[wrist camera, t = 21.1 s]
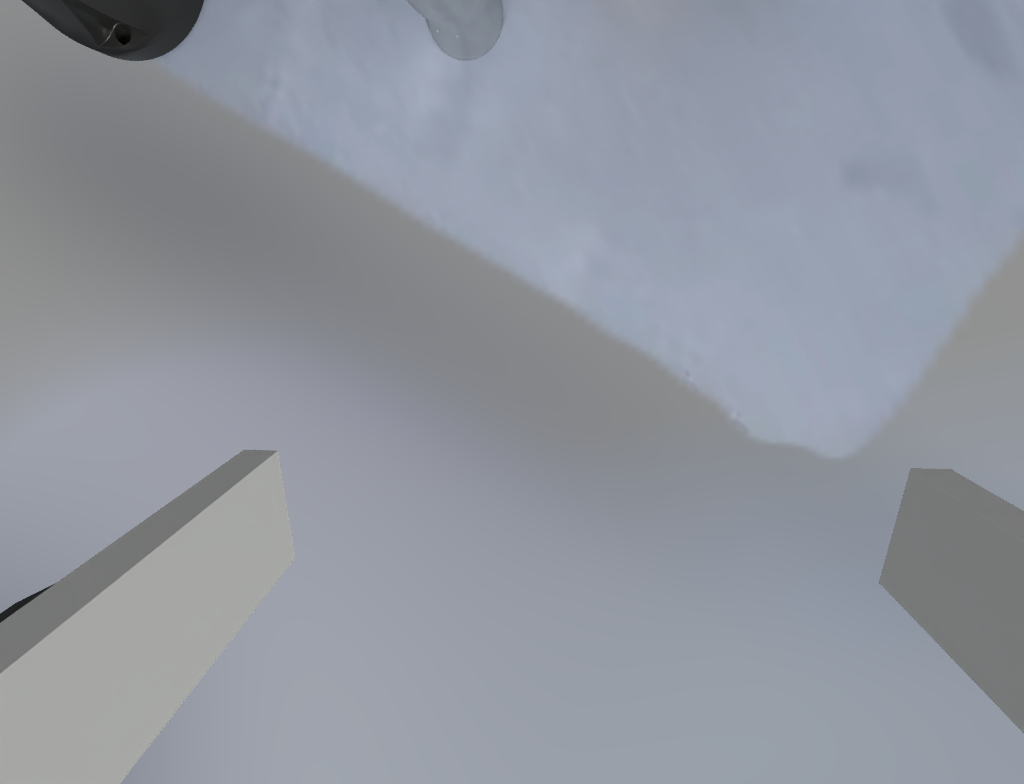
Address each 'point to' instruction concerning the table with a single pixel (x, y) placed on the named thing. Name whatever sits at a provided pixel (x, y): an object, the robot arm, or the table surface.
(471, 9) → the beer glass
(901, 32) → the table surface
